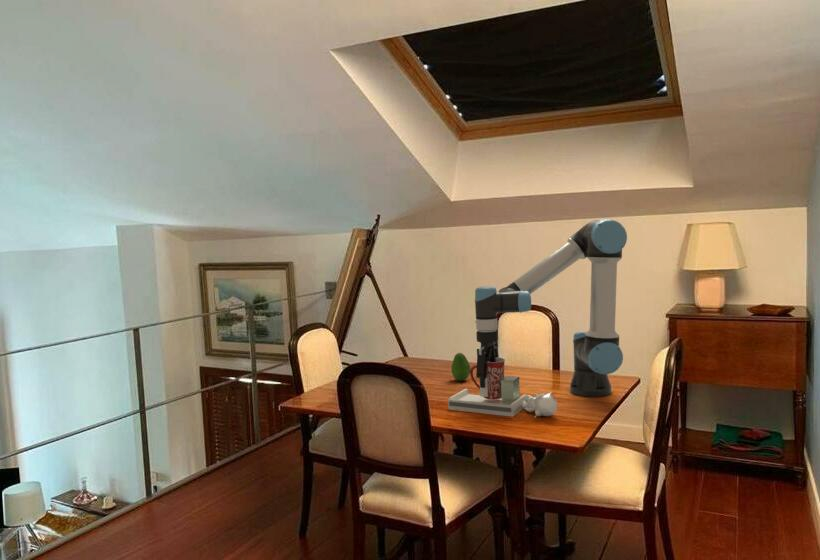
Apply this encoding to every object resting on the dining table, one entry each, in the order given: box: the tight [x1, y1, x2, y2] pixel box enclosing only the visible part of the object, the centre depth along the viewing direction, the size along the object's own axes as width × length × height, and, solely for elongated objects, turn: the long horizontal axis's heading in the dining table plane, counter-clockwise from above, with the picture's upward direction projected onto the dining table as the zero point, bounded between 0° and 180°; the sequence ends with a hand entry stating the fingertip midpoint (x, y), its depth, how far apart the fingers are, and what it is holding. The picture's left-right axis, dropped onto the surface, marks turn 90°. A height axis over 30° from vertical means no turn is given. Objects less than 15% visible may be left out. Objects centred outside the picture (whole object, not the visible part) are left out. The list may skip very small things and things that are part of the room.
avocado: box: [451, 352, 471, 382], centre depth 260 cm, size 8×8×12 cm
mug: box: [469, 357, 506, 399], centre depth 219 cm, size 13×9×14 cm
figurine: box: [522, 391, 558, 419], centre depth 208 cm, size 11×7×15 cm
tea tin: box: [501, 375, 521, 405], centre depth 214 cm, size 5×6×9 cm
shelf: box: [447, 388, 528, 418], centre depth 218 cm, size 24×15×4 cm, turn 60°
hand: (489, 392), depth 219 cm, fingers closed on mug, 9 cm apart
